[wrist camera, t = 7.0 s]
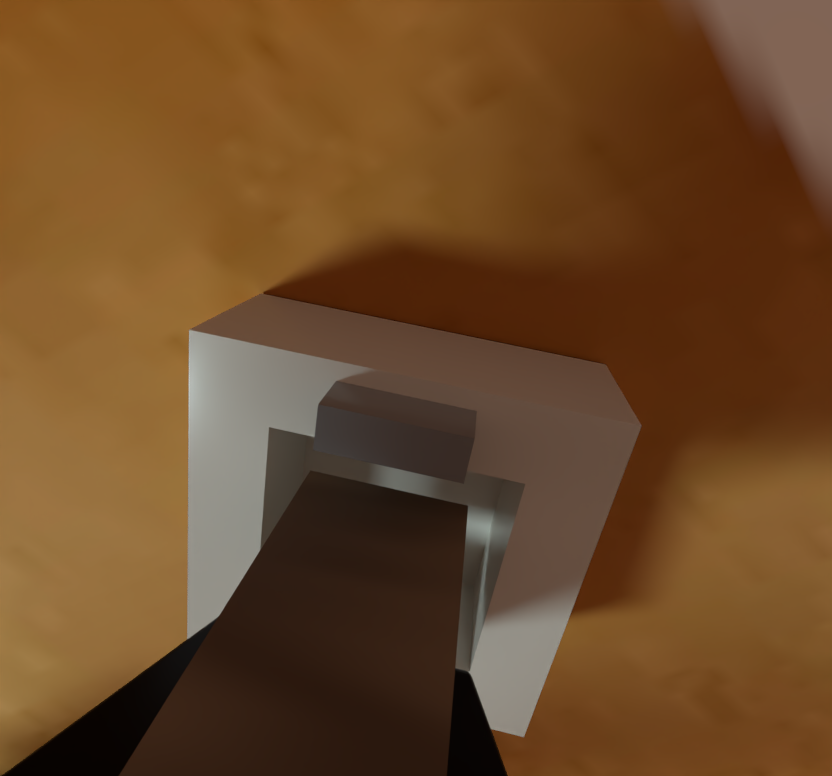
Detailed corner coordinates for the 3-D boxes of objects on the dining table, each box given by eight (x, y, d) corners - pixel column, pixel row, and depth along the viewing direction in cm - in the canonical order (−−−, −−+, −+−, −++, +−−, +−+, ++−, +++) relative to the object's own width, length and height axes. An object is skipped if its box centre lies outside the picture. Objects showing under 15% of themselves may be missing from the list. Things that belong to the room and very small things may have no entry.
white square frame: (244, 563, 15) (161, 692, 11) (260, 293, 12) (153, 347, 8) (518, 627, 14) (526, 786, 11) (605, 364, 11) (659, 456, 8)
